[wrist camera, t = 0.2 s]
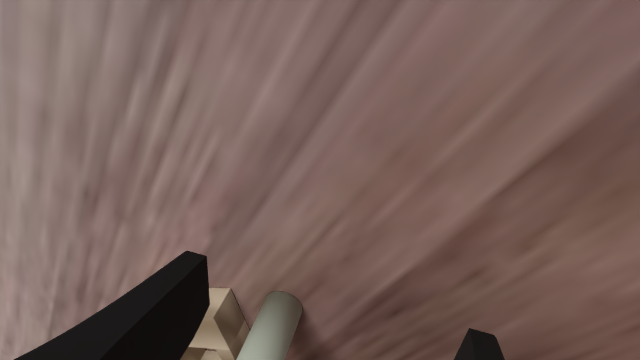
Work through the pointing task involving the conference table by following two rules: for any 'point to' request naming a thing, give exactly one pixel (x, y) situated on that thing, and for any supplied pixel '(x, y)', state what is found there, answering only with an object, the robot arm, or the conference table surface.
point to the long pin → (272, 328)
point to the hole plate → (219, 329)
